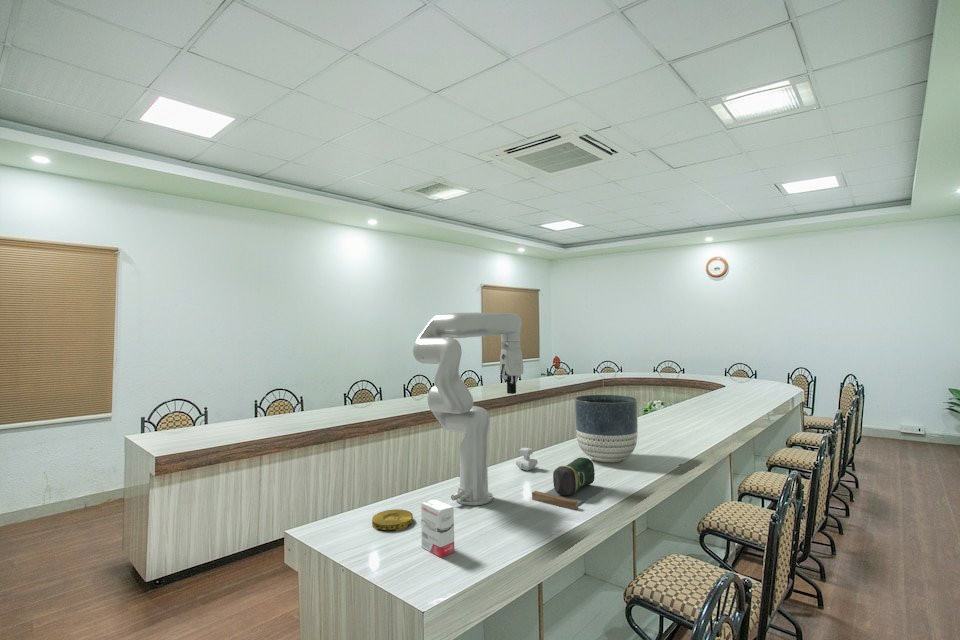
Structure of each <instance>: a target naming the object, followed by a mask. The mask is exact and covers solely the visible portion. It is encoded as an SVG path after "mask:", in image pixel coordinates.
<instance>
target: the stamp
mask: <svg viewBox="0 0 960 640" xmlns="http://www.w3.org/2000/svg"><path fill="white" fill-rule="evenodd" d="M518 451H519V453H520V455H522V458H519V459H517V460H516V461H515V465H516V466H517V467H518V469H519V470H522V469H523V470H524V471H528V472H529V471H530V470H533V469H535V468H536V467H537V464H538V460H537V459H535V458H530V456H531V455H533V448H530V447H529V448H528V447H521V448H519V449H518Z"/></svg>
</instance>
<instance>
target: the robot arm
mask: <svg viewBox="0 0 960 640" xmlns="http://www.w3.org/2000/svg"><path fill="white" fill-rule="evenodd" d="M522 325H523V324H522V318H521V316H519V314H518V313H515V312H510V313H506V312H505V313H504V312H502V313H500V312H499V313H498V312H497V313H495V312H494V313H493V312H451V313H450V312H447V313H437V314H436V315H434V316H433V317H432V318H431V319H430V320H429V322H428V323H427V325H426V326H425V327H424V328H423V330H422V331H421V333H420V334H419V335H418V337H417V338H416V340H415V342H414V344H413V347H412V353H413V354H412V355H413V357H414V359H415V360H416V361H417V362H419V363H421V364H430V365H431V364H432V365H434V364H435V365H438V368H437V371H436V373H435V376H434V385H433V386H432V387H430V389H429V390H428V393H427V404H428V407H429V409H430V411H431V413H432V414H433V416H434V417H435V418H436V420H437V421H438V422H439V423H440V424H441V426H442V427H443V428H444V429H445V430H446V431H448V432H454V433H460V434H464V437H463V439H462V440H461V442H460V445H459V487H458V491H457V492H456V493H452V494H451V496H450V499H451V500H452V501H456V502H457V503H458V504H461V505H464V506H465V505H466V506H482V505H487V504H488V503H490V502H492V501H493V497H494V495H493V494H492V493H491V492H489V483H488V482H489V477H488V476H489V475H488V474H489V473H488V472H489V471H488V434H489V428H490V422H491V421H490V420H491V418H490V414H489V412H488V411H487V409H486V408H483V407H481V406H476V405H474V398H473V395H472V394H471V391H470V390H469V388H468V387H467V385H466V383H465V382H464V380H463V379H462V377H461V375H460V364H461V359H462V358H461V357H462V351H463V349H462V345H461V343H460V341H458V339H464V338H465V339H466V338H478V337H480V338H481V337H490V336H491V337H492V336H498V335H500V348H501V349H500V357H499V373H500V375H501V379H502V380H505V384H506V393H507V394H509V395H510V394H511V395H514V394H515V395H516V393H517V382H518V378H520V377H521V375H523V374H524V361H523V360H524V359H523V353H522V349H521V329H522Z"/></svg>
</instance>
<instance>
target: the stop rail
mask: <svg viewBox="0 0 960 640" xmlns="http://www.w3.org/2000/svg"><path fill="white" fill-rule="evenodd" d="M531 499H532V501H537V502H540V503H544V504H548V505H553V506H557V507H559V508H560V507H561V508H564V509H568V510H573V511H576V510H577V509H578V508H579V505H578V501H576V500H572V499H568V498H564V497H559V496H555V495H551V494H547V493H546V492H543V491H538V490H534V491H532V492H531Z"/></svg>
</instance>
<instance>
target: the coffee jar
mask: <svg viewBox="0 0 960 640" xmlns="http://www.w3.org/2000/svg"><path fill="white" fill-rule="evenodd" d="M595 472H596V471H595V465H594V462H593V460H591V459H590V458H587V457H581V456H580V457H577V458H576V459H574V460H573V461H571V462H569V463H568V464H567V465H560V466H558V467H556V468H555V469H554V470H553V475H552V476H553V477H552V479H553V480H552V482H553V488H554V489H555V491H556V492H557V493H558V494H561V495H572V494H574V493H575V492H576V491H577V490H578V489H579V488H581V487H584V486H587V485H592V484H593V483H594V481H595V477H596V476H595V475H596V473H595Z"/></svg>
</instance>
